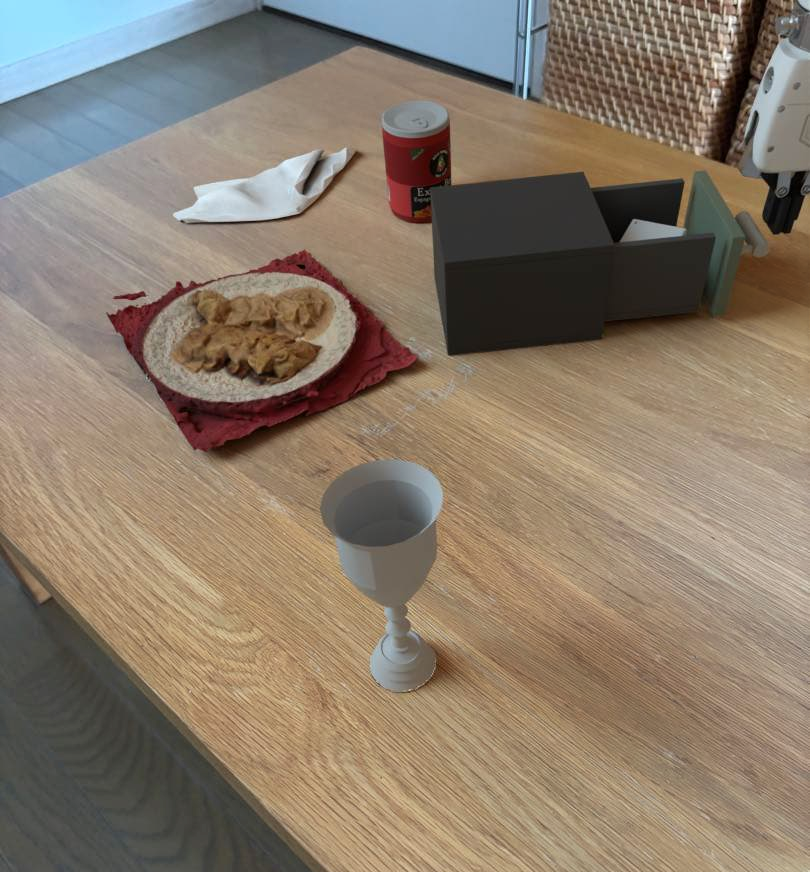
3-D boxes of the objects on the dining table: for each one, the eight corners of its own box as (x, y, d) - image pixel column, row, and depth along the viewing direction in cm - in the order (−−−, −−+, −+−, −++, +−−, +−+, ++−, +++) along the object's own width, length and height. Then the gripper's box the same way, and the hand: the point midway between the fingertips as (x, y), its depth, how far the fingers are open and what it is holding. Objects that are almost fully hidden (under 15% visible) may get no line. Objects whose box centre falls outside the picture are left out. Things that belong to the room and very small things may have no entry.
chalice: (374, 719, 61) (344, 564, 48) (341, 646, 66) (303, 484, 52) (467, 680, 63) (463, 519, 49) (428, 611, 67) (415, 444, 53)
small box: (609, 288, 89) (615, 245, 85) (627, 258, 92) (633, 216, 88) (664, 300, 87) (672, 257, 83) (680, 270, 90) (689, 226, 86)
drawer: (728, 243, 94) (748, 165, 87) (768, 311, 86) (792, 231, 79) (557, 261, 94) (563, 184, 87) (581, 330, 86) (589, 252, 80)
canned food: (419, 231, 102) (413, 139, 93) (375, 207, 106) (366, 116, 97) (466, 206, 104) (464, 114, 96) (422, 183, 109) (417, 93, 100)
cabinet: (574, 263, 95) (583, 171, 87) (602, 339, 87) (614, 244, 78) (434, 278, 95) (430, 187, 87) (447, 355, 87) (444, 262, 79)
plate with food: (201, 468, 79) (192, 441, 77) (109, 323, 93) (99, 296, 91) (421, 372, 86) (420, 344, 83) (305, 251, 100) (301, 224, 98)
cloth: (188, 247, 103) (183, 230, 101) (163, 195, 111) (158, 178, 109) (389, 190, 108) (388, 173, 106) (351, 145, 116) (349, 128, 115)
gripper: (764, 53, 70) (713, 254, 84) (948, 37, 70) (865, 241, 84) (735, 17, 74) (691, 213, 89) (907, 2, 74) (836, 201, 89)
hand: (776, 226), depth 86 cm, fingers closed
